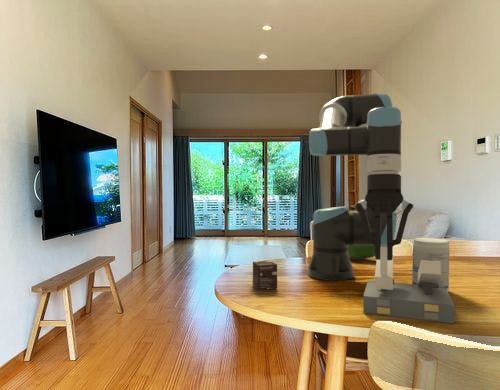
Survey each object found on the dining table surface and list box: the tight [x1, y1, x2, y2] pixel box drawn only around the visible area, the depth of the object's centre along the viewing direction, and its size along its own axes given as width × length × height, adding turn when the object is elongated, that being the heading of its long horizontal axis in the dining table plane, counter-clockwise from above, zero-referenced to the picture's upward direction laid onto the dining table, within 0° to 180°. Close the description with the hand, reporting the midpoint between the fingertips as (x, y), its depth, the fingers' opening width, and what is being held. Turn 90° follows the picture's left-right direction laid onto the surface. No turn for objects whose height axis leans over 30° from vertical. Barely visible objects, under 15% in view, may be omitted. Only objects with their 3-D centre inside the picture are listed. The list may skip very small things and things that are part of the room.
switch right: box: [418, 260, 441, 283], centre depth 89 cm, size 4×14×3 cm, turn 158°
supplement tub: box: [411, 237, 450, 293], centre depth 106 cm, size 10×10×15 cm
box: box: [252, 260, 278, 290], centre depth 110 cm, size 6×6×7 cm
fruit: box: [348, 245, 375, 261], centre depth 153 cm, size 15×10×10 cm, turn 47°
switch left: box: [374, 257, 394, 290], centre depth 93 cm, size 4×14×3 cm, turn 158°
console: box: [362, 279, 455, 324], centre depth 91 cm, size 19×16×7 cm
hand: (383, 273), depth 86 cm, fingers closed
